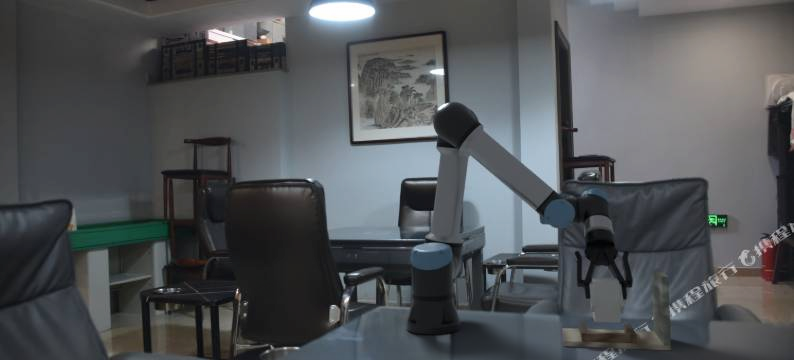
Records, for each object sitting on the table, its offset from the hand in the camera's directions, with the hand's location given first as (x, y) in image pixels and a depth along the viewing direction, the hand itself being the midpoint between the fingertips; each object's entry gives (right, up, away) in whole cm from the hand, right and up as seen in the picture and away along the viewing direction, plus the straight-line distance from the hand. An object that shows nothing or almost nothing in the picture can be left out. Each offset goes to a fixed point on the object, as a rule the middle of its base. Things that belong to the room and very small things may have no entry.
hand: (607, 309), depth 140 cm
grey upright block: (+1, -3, +3) cm, 5 cm away
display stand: (+2, -9, +3) cm, 10 cm away
